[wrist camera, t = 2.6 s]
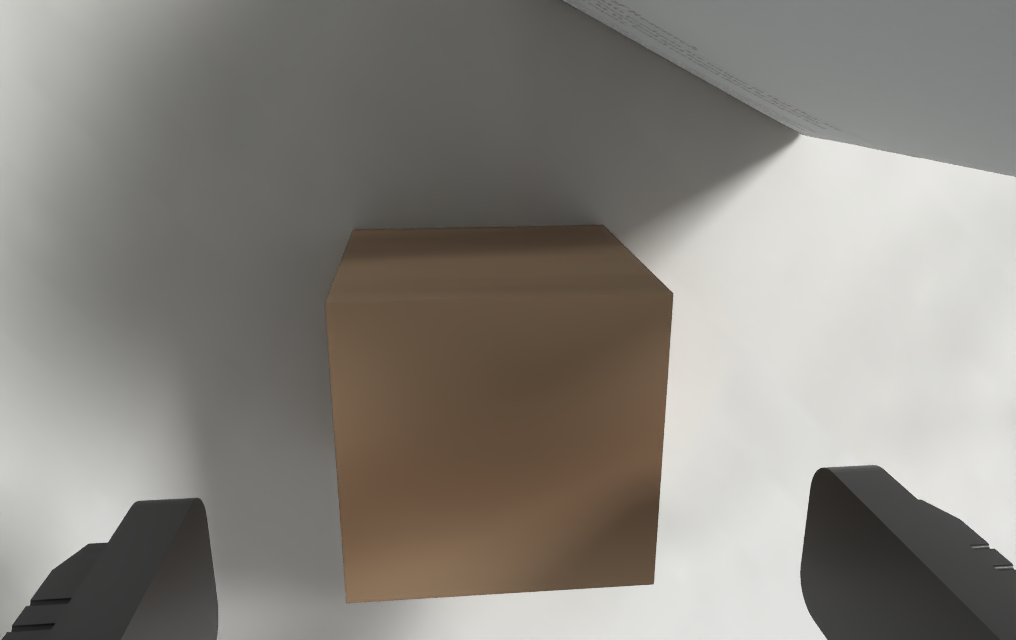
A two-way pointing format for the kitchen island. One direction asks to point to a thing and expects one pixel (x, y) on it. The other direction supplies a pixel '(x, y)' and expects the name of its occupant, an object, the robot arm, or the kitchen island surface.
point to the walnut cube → (496, 410)
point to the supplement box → (850, 67)
